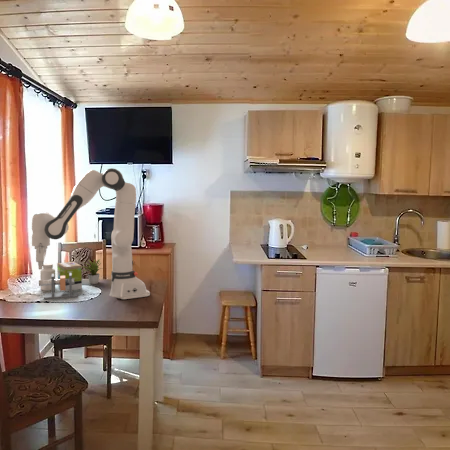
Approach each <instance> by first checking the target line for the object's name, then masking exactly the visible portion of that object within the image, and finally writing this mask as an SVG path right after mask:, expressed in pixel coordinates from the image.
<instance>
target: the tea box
mask: <svg viewBox="0 0 450 450" xmlns="http://www.w3.org/2000/svg"><path fill="white" fill-rule="evenodd" d="M56 266H57V268H56V269H57V279H60V276H65V279H69V273H72V278H74V284H72V291H78V290H82V289H83V283H82V282H83V281H82V280H83V277H82V276H83V275H82V273H83V272H82V271H83V270H82V269H83V268H82V264H79V263H77V262H75V261H67V262H57V263H56ZM57 286H58V287H60V285H57ZM65 286H66V288H65V290H63V292H70V288H69V284H65Z"/></svg>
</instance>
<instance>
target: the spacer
mask: <svg viewBox="0 0 450 450" xmlns="http://www.w3.org/2000/svg"><path fill="white" fill-rule="evenodd" d="M65 288H66V286H65V276H60V286H59V290H60V291H59V292H63V291H64V290H65Z"/></svg>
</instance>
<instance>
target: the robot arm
mask: <svg viewBox="0 0 450 450" xmlns="http://www.w3.org/2000/svg"><path fill="white" fill-rule="evenodd" d="M102 187H105V188H108V189H110V190H114V192H115V205H114V214H113V230H112V231H111V240H110V241H111V258H112V259H111V265H112V266H111V267H112V270H111V273H110V276H111V277H110V280H111V287H110V292H109V297H112V298H116V299H119V300H120V299H121V300H127V299H128V300H129V299H137V298H144V297H150V296H151V292H150V291H149V289H147V287H146V284H145V282H143V280H141V279H140V278H138V277H137V276H138V275H139V274H138V271H135V270H133V251H132V250H133V249H132V244H133V242H134V237H135V236H134V234H135V213H136V204H137V190H136V187H135V185H134V184H132V183H130V182H126V181H125V179H124V176H123V173H122V172H121V171H120V170H118V169H116V168H108V169H105V171H104V172H102V173H101V172H100V171H97V170H95V169H90V170H87V172H86V173H85V174H83V176H82V177H81V178H80V179H79V180H78V181H77V182H76V184H75V186H74V187H73V189H72V192H71V193H70V196H69V198H68V200H67V202H66V204H65V205H64V206H63V208H62V209H61V211H59V213H58V214H57V215H56V216H54V215H53V214H51V213H49V212H45V211H44V212H43V211H42V212H39V213H35V214H34V215H33V216H32V217H31V218H32V219H31V221H32V222H31V230H32V234H31V235H32V236H31V246H32V247H34V249H35V261H36V263H37V265H38V270H39V271H41V270H42V269H43V264H45V262H44V261H45V259H46V255H47V249H48V247H49V246H50V245H51V240H59V239H61V238H63V236H64V235H65V234H66V233H68V230H69V224H68V223H69V222H70V221H71V219H72V218H73V216H74V215H75V214H76V213H77V212H78V211H79V210H80V209H81V208H82V207H84V206H86V205H87V204H88V203H90V201H91V200H92V199H94V197H95V196H96V194H97V193H98V191H99V190H100V189H101V188H102Z"/></svg>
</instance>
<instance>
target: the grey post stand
mask: <svg viewBox="0 0 450 450" xmlns="http://www.w3.org/2000/svg"><path fill="white" fill-rule="evenodd" d="M51 282H52V290H51V292H45V293H44V295H43V300H54V299H71V298H78V290H72V273H69V288H70V291H59V292H55V289H56V285H54V274H52V276H51Z"/></svg>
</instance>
